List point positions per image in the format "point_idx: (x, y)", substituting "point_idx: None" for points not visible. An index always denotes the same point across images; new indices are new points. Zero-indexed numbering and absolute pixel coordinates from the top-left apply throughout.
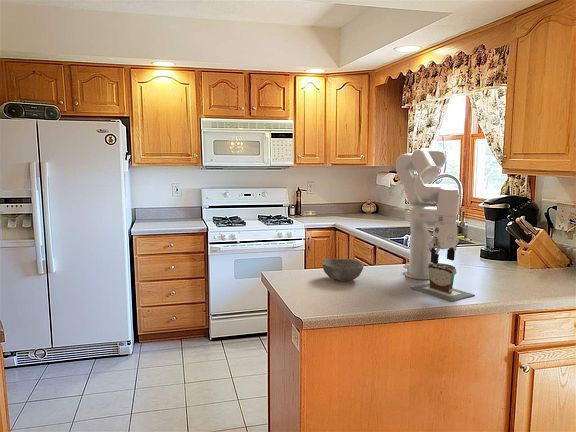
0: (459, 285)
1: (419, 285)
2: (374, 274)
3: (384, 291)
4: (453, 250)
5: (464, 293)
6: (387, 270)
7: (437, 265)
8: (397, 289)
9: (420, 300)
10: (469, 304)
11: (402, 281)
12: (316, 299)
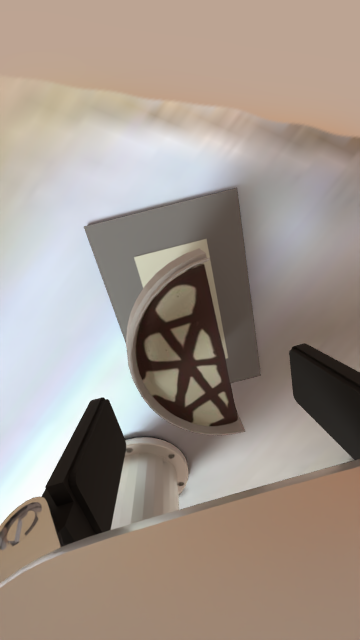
0: (64, 363)
1: None
2: None
3: (354, 364)
4: (52, 508)
5: (118, 255)
6: None
7: (192, 411)
8: None
9: (327, 246)
10: (186, 125)
11: (230, 436)
12: None
